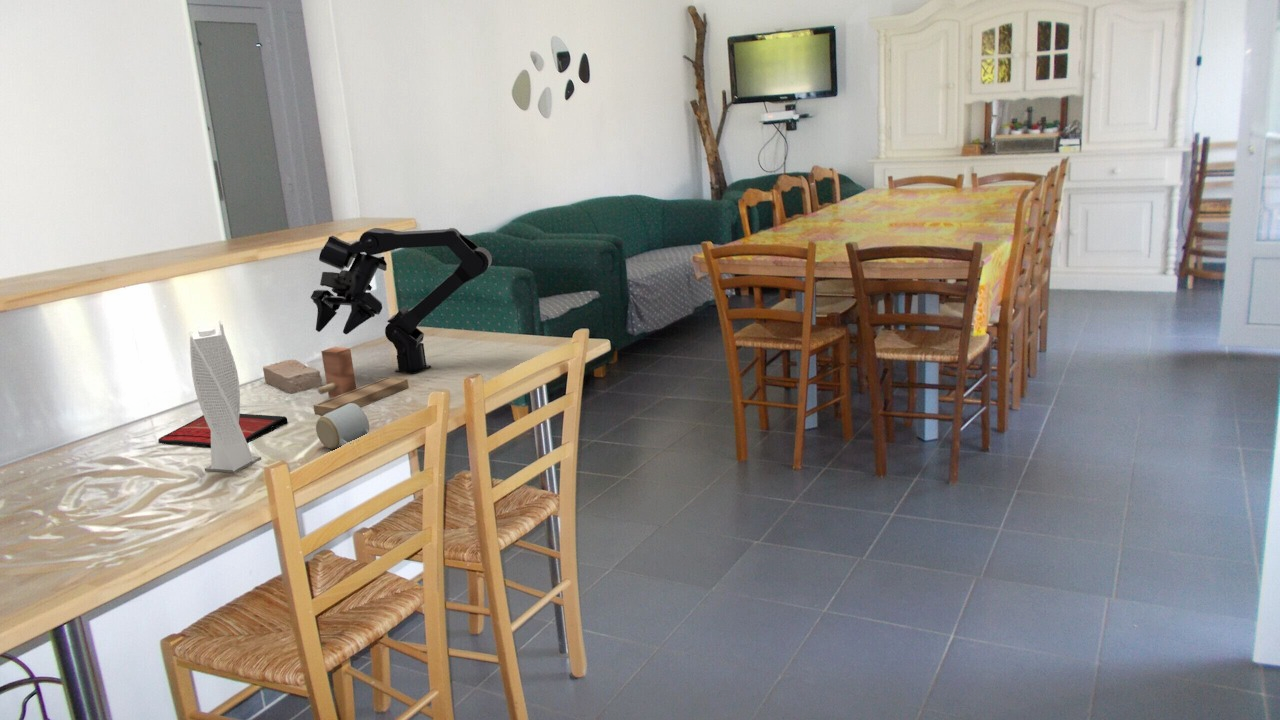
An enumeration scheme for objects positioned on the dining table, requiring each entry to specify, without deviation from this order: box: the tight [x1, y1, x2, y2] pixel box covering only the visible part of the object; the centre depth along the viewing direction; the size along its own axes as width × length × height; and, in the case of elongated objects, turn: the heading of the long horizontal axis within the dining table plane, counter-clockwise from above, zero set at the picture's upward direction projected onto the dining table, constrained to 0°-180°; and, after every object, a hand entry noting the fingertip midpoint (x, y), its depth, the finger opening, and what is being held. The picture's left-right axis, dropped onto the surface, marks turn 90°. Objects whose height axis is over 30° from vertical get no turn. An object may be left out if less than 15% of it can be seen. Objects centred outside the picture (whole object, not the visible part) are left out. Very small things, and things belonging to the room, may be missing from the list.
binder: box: [158, 413, 289, 448], centre depth 195 cm, size 16×2×21 cm
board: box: [313, 376, 409, 416], centre depth 211 cm, size 22×6×2 cm, turn 149°
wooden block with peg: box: [317, 346, 358, 399], centre depth 213 cm, size 8×5×11 cm, turn 149°
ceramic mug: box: [315, 403, 370, 450], centre depth 182 cm, size 10×8×7 cm
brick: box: [262, 358, 323, 394], centre depth 228 cm, size 17×8×5 cm, turn 42°
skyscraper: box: [188, 319, 262, 474], centre depth 172 cm, size 8×8×28 cm
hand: (330, 332), depth 219 cm, fingers open, 9 cm apart
